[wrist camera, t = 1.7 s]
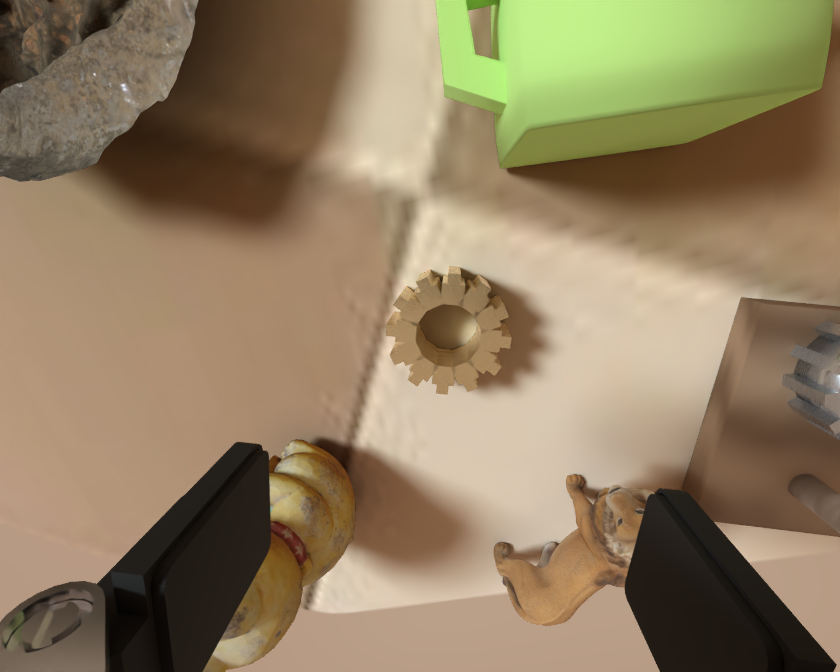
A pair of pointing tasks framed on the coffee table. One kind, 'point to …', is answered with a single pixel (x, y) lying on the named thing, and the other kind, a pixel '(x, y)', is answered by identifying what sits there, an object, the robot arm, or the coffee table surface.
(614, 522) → the lion figurine
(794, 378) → the grey gear
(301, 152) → the coffee table surface
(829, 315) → the gear board
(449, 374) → the brass gear
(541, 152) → the green square teapot
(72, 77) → the stone bowl
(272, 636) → the decorative figurine
